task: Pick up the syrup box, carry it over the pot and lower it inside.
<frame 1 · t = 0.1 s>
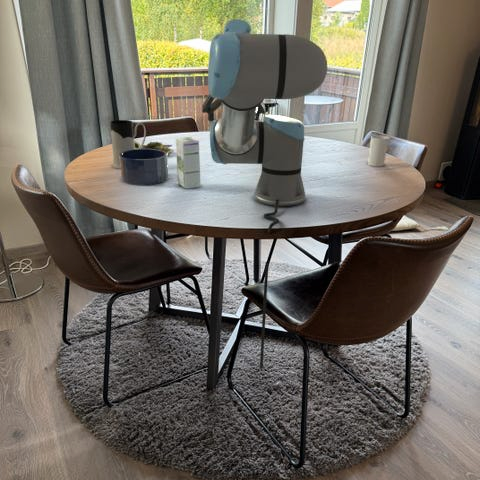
hand: (233, 127, 166), 15 cm above the table, tool tilted 35°, fingers open, 13 cm apart
salad plate: (148, 154, 196), on the table
pot: (145, 178, 166), on the table
syrup box: (189, 186, 160), on the table
cream cylindrical container: (375, 164, 189), on the table
white black mug: (131, 165, 181), on the table
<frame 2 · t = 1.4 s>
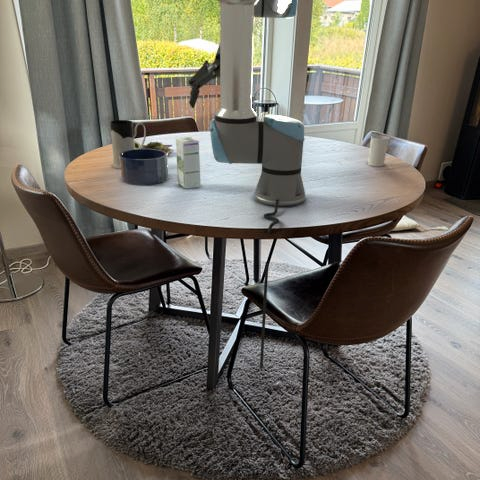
hand: (210, 107, 160), 22 cm above the table, tool tilted 45°, fingers open, 13 cm apart
nothing on the table moved.
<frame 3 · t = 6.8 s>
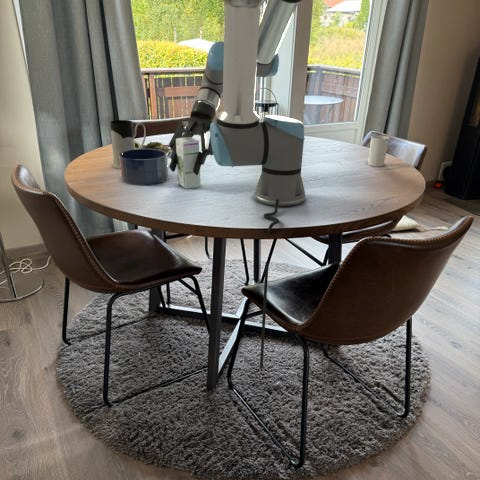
hand: (183, 170, 155), 6 cm above the table, tool tilted 45°, fingers closed on syrup box, 8 cm apart
syrup box: (189, 186, 160), on the table, touching gripper
everything else where it was.
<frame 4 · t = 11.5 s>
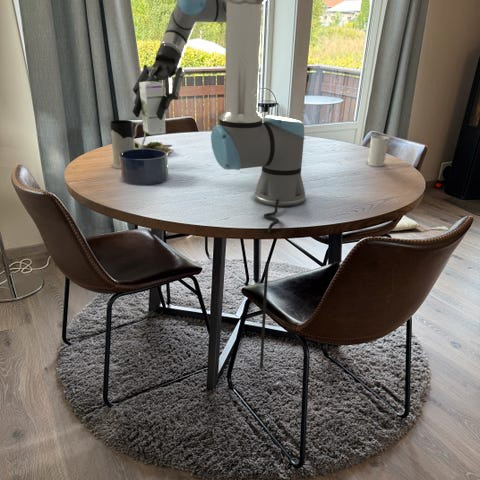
hand: (147, 115, 151), 21 cm above the table, tool tilted 45°, fingers closed on syrup box, 8 cm apart
syrup box: (154, 133, 157), point 15 cm above the table, touching gripper
everything else where it was.
when the fingers open (6 cm above the table, at t = 16.9 s): syrup box stays where it is, resting on pot.
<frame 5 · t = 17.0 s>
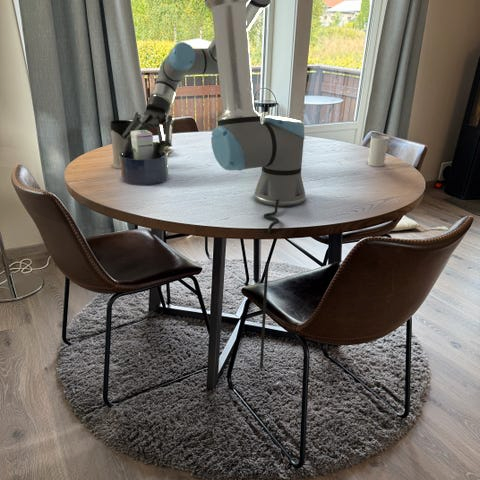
hand: (139, 160, 161), 6 cm above the table, tool tilted 45°, fingers open, 10 cm apart
syrup box: (145, 177, 166), resting on pot
everything else where it was.
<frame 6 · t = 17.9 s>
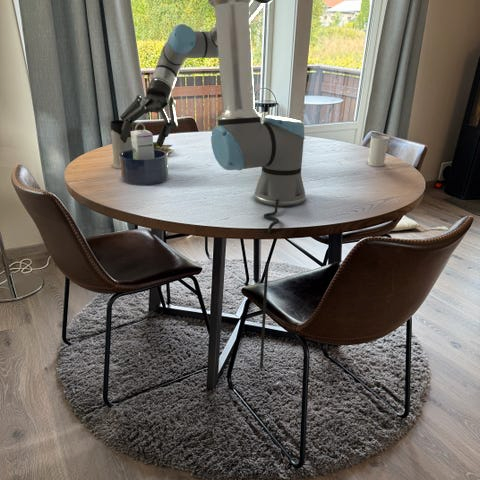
hand: (140, 142, 159), 12 cm above the table, tool tilted 45°, fingers open, 13 cm apart
nothing on the table moved.
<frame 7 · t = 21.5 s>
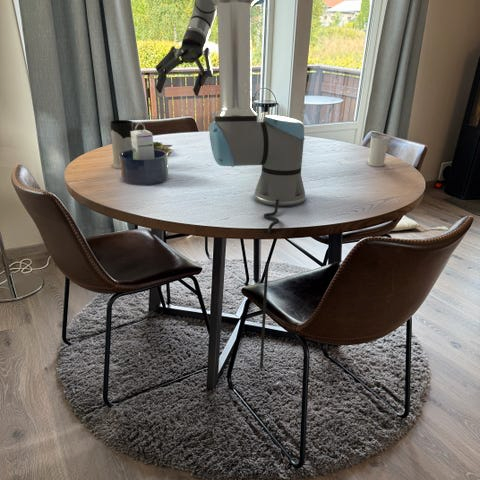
hand: (176, 91, 161), 26 cm above the table, tool tilted 45°, fingers open, 13 cm apart
nothing on the table moved.
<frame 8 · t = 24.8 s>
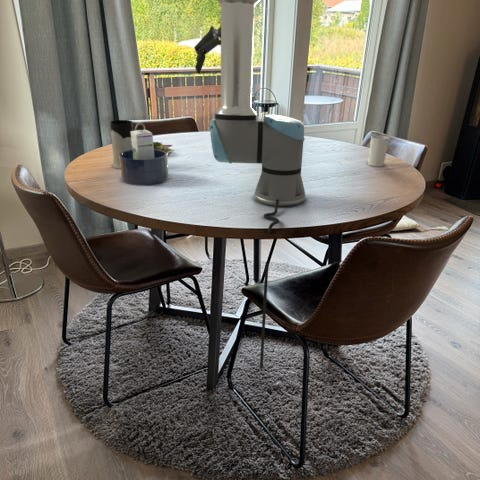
hand: (216, 71, 160), 32 cm above the table, tool tilted 45°, fingers open, 13 cm apart
nothing on the table moved.
at the end: syrup box inside the target area in the pot (0.1 cm from its centre), point 0.3 cm above the pot's base; the gripper is holding nothing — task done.
